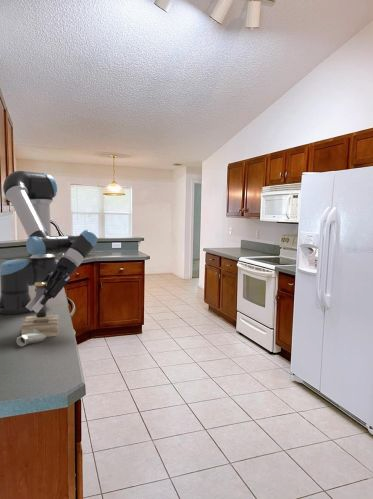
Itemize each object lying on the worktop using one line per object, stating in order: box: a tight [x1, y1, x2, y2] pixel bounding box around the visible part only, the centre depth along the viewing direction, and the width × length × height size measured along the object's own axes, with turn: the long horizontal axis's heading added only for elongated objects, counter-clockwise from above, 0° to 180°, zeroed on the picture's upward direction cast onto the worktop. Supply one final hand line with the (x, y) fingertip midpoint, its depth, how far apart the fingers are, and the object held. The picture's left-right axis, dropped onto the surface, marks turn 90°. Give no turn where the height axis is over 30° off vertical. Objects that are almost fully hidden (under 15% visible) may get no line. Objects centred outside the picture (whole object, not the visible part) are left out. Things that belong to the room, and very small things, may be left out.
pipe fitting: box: [16, 329, 47, 347], centre depth 122 cm, size 8×4×7 cm
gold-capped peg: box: [34, 282, 47, 318], centre depth 133 cm, size 4×4×13 cm
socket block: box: [20, 314, 60, 338], centre depth 134 cm, size 14×12×4 cm
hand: (31, 309), depth 130 cm, fingers closed on gold-capped peg, 3 cm apart
